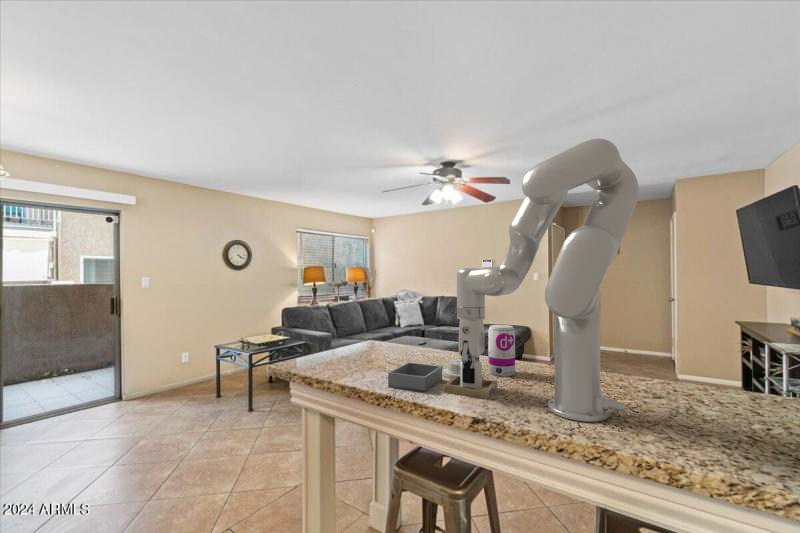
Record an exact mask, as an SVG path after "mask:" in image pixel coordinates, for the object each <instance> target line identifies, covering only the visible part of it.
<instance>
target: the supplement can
mask: <svg viewBox="0 0 800 533" xmlns="http://www.w3.org/2000/svg"><path fill="white" fill-rule="evenodd" d="M487 330H488V331H487V334H488V335H487V336H488V338H487V341H488V342H487V344H488V347H487V348H488V349H487V351H488V352H487V353H488V354H487V355H488V367H487V369H488V372H490V374H491V375H494V376H498V377H510V376H513V375H514V374H515V373H516V331H515V329H514V327H513V325H509V324H491V325H489V328H488V329H487Z"/></svg>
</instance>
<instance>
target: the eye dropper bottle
mask: <svg viewBox="0 0 800 533" xmlns="http://www.w3.org/2000/svg"><path fill="white" fill-rule="evenodd" d="M468 356H471V354H468ZM468 360H470V363H471V359H468ZM473 368H475V383H474V384H470V383H463V377H462V362H461V384H460V386H464V387H470V388H477V389H483V387H482V379H483V370H482V368H483V366H482V362H481V361H480V360H479V361H478V360H476V358H475V357H474V366H473Z"/></svg>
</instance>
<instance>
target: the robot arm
mask: <svg viewBox="0 0 800 533" xmlns="http://www.w3.org/2000/svg"><path fill="white" fill-rule="evenodd" d="M620 154H621V153H620V151H619V149H618V148H617V146H616V144H614V143H613V142H612V141H611V140H608V139H605V138H591V139H589V140H585V141H583V142H581V143H579V144H576V145H574V146H571V147H570V148H568V149H566V150H564V151H562V152H560V153H558V154H555V155H553V156H552V157H550V158H547V159H545V160H544V161H541V162H539V163H538V164H536V165H534V166H533V167H531V168H530V169H529V170H528V171H527V172H526V173H525V175H524V176H523V178H522V182H521V190H522V193H523V194H524V198H523V200H522V202H521V203H520V206H519V207H518V209H517V211H516V213H515V214H514V217H513V218H512V220H510V224H509V225H508V234H509V247H508V250H507V252H506V255H505V257H504V259H503V261H502V262H501V264H500V266H491V267H484V268H479V267H477V268H476V267H475V268H474V267H470V268H469V267H465V268H463V267H462V268H460V269H458V270H457V272H456V319H457V320H459V325H458V327H459V328H458V354H459V356H461V358H460V360H462V377H463V383H470V384H474V383H475V368H473V366H474V357H475V358H476V360H478V361H480V356H481V355H482V354H484V353H485V350H486V343H485V340H486V339H485V326H484V324H485V323H484V320H486V298H485V297H486V296H489V297H500V296H504V295H505V296H506V295H511V294H512V293H514V292H516V291H517V289H518V288H519V287H520V286H521V284H522V283H523V281H524V279H525V278H526V276H527V274H528V273H529V271H530V269H531V267H532V265H533V264H534V260H535V258H536V256H537V252H538V251H539V248H540V244H541V241H542V239H543V238H544V236H545V234H546V233H547V231H548V229H549V227H550V225H551V224H552V222H553V220H554V219H555V217H556V215H557V213H558V211H559V210H560V209H561V207H562V205H563V203H564V202H565V199H566V198H567V195H568V193H569V191H571V190H573V189H575V188H578V187H580V186H584V185H585V184H587V186H588V187H590V188H592V189H593V191H594V196H593V199H592V201H591V204H590V205H589V208H588V211H587V214H586V216H585V218H584V222H583V224H582V226H579V227H577V228H576V229H574V230H573V231H572V232H570V234H568V235H567V237H566V238H565V240H564V242H563V243H562V245H561V248H560V250H559V253H558V256H557V258H556V261H555V263H554V265H553V268H552V271H551V273H550V275H549V278H548V280H547V284H546V287H545V291H544V300H545V304H546V306H547V308H548V309H549V311H550V312H552V314H554V329H553V330H554V331H553V332H554V334H553V336H554V338H553V340H554V342H553V343H554V344H553V345H554V347H553V348H554V350H553V351H554V352H553V353H554V355H553V356H554V357H553V358H554V360H553V361H554V363H553V364H554V365H553V366H554V398H552V399H549V400H548V401H547V408H548V409H549V411H550V412H551V413H553V414H555V415H557V416H559V417H562V418H564V419H569V420H573V421H579V422H592V423H593V422H594V423H595V422H601V421H604V420H607V419H608V418H610V417H609V416H610V413H609V412H610V410H613V411H615V412H623V413H625V412H626V403H625V402H623V401H618V398H616V399H615V398H608V397H607V398H606V396H603V391H602V390H601V311H602V295H601V290H600V287H601V284H602V282H603V279H604V277H605V275H606V272H607V270H608V268H609V267H610V266H611V265H612V264H613V263H614V262H615V260H616V258H617V256H618V253H619V249H620V247H621V244H622V242H623V238H624V237H625V235H626V232H627V230H628V227H629V224H630V222H631V219H632V217H633V213H634V211H635V208H636V206H637V202H638V198H639V194H640V189H639V188H640V187H639V181H638V179H637V176H636V174H635V173H634V172H633V170H632V168H630V167H629V166H628V165H627V163H625V161H624V159H622V157H621V155H620ZM468 354H471V356H468ZM468 359H471V363H470V360H468Z"/></svg>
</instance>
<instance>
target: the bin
mask: <svg viewBox="0 0 800 533" xmlns="http://www.w3.org/2000/svg"><path fill="white" fill-rule="evenodd" d="M387 375H388V376H387V377H388V379H387V384H388V385H387V386H388V388H392V389H399V390H406V391H411V392H416V393H427V392H428V391H430V390H431V389H432V388H434V387H435V386H436V385H437V384H439V383H441V381H442V380H443V366H442V365H441V366H440V365H434V364H425V363H419V362H418V363H417V362H406V363H405V364H402V365H400V366H398V367H396V368H394V369H393V370H391V371H389V372H388V374H387Z"/></svg>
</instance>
